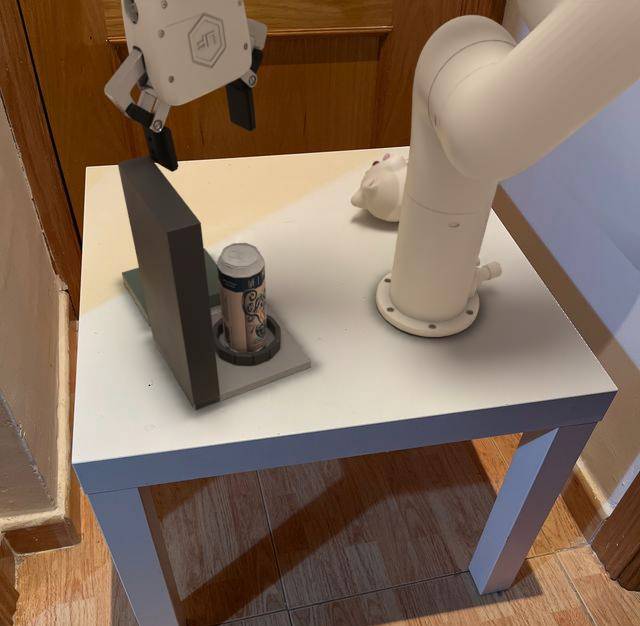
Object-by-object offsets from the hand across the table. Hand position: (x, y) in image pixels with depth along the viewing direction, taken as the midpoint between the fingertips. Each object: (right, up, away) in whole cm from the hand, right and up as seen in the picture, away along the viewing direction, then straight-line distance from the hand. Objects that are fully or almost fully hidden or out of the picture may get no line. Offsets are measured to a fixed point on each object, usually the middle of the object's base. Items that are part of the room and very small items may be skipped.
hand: (205, 145), depth 66 cm
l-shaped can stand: (+1, -19, +12) cm, 22 cm away
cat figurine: (+22, +3, +31) cm, 38 cm away
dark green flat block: (-6, -10, +18) cm, 22 cm away
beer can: (+3, -18, +12) cm, 21 cm away
